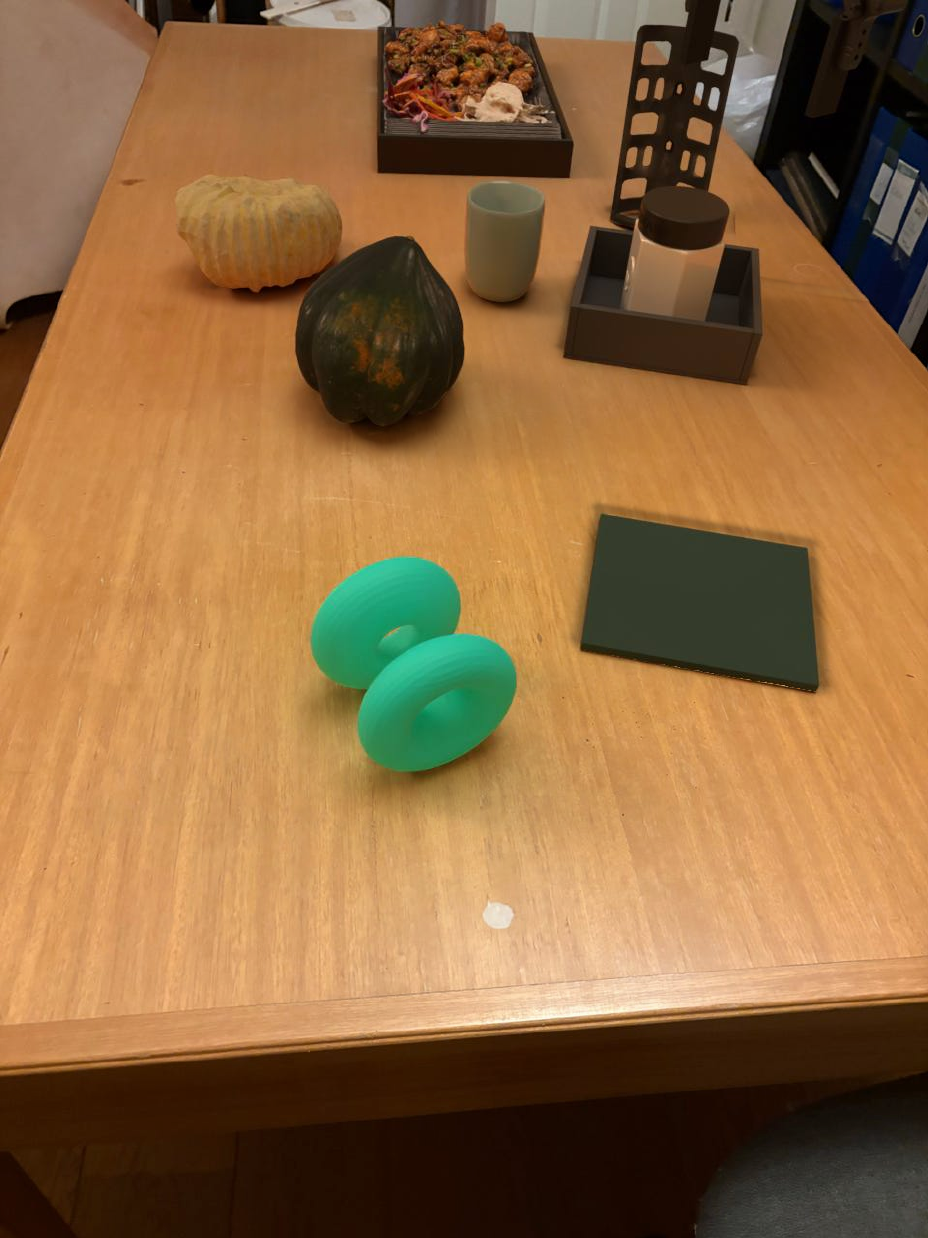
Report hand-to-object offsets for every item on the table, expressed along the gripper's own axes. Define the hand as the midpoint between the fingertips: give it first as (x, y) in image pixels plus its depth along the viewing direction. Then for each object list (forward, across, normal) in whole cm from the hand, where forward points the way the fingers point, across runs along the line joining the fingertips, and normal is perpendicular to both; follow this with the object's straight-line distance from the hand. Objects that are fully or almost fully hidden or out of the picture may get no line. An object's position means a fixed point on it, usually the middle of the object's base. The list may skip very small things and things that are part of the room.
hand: (753, 86), depth 74 cm
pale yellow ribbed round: (+24, -36, -28) cm, 51 cm away
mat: (+24, +25, -24) cm, 42 cm away
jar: (+24, -5, +1) cm, 24 cm away
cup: (+24, -19, -9) cm, 32 cm away
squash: (+24, -9, -30) cm, 39 cm away
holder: (+24, -24, +18) cm, 38 cm away
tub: (+24, -5, +1) cm, 24 cm away
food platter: (+24, -64, +18) cm, 71 cm away
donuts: (+24, +23, -47) cm, 57 cm away
